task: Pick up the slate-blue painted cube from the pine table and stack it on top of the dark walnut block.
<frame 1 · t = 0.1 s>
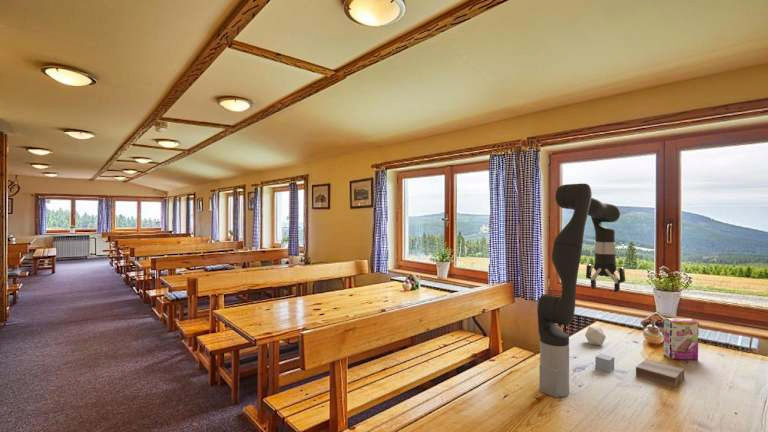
hand: (605, 290, 156), 29 cm above the table, tool pointing down, fingers open, 8 cm apart
walnut block: (659, 378, 138), on the table
die: (595, 344, 173), on the table
slate cube: (604, 369, 145), on the table
candy bar box: (680, 358, 156), on the table
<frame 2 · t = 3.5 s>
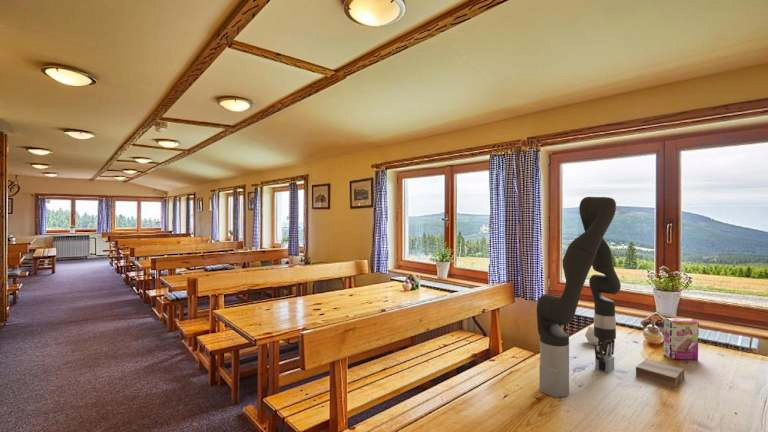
hand: (604, 367, 145), 0 cm above the table, tool pointing down, fingers closed on slate cube, 5 cm apart
slate cube: (604, 369, 145), on the table, touching gripper
everything else where it was.
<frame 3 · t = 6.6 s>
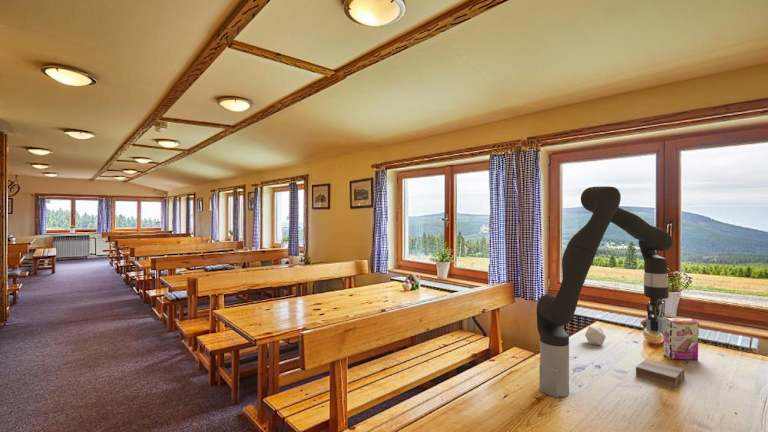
hand: (656, 329, 138), 18 cm above the table, tool pointing down, fingers closed on slate cube, 5 cm apart
slate cube: (656, 330, 138), point 17 cm above the table, touching gripper
everything else where it was.
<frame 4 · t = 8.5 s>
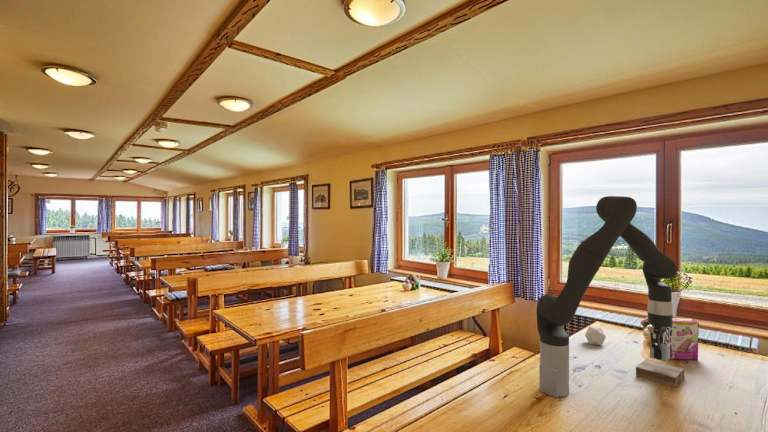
hand: (660, 356, 138), 8 cm above the table, tool pointing down, fingers closed on slate cube, 5 cm apart
slate cube: (660, 358, 138), point 7 cm above the table, touching gripper
everything else where it was.
when the fingers open (6 cm above the table, at t = 9.8 s): slate cube drops 2 cm, point 4 cm above the table.
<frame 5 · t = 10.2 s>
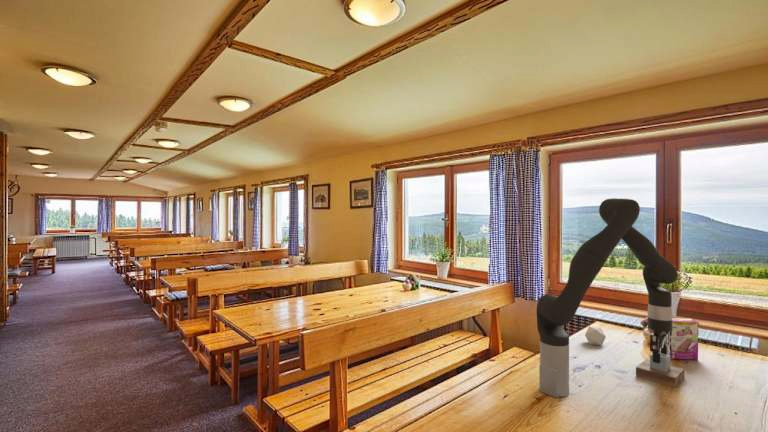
hand: (659, 359, 138), 7 cm above the table, tool pointing down, fingers open, 8 cm apart
slate cube: (660, 368, 138), point 4 cm above the table
everything else where it was.
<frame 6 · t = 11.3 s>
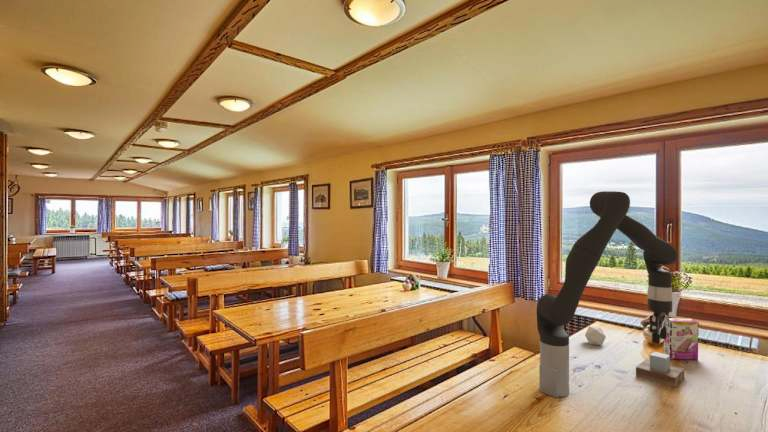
hand: (659, 340, 138), 14 cm above the table, tool pointing down, fingers open, 8 cm apart
walnut block: (659, 378, 138), on the table, touching slate cube
slate cube: (659, 368, 138), point 3 cm above the table, touching walnut block
everything else where it was.
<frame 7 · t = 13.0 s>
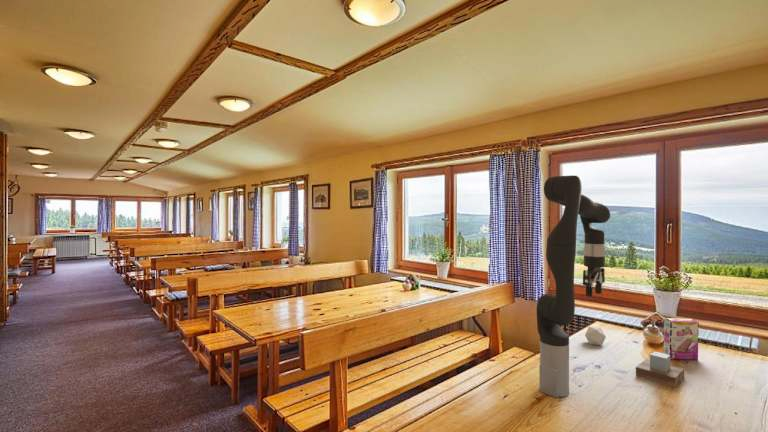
hand: (593, 294, 148), 29 cm above the table, tool pointing down, fingers open, 8 cm apart
nothing on the table moved.
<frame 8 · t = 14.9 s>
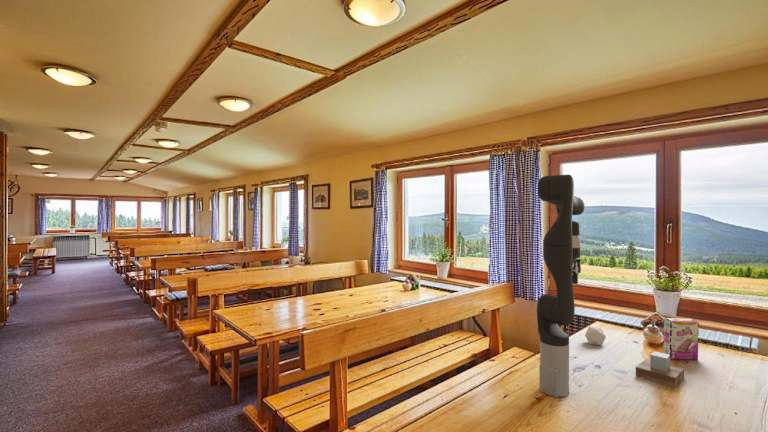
hand: (570, 284, 153), 32 cm above the table, tool pointing down, fingers open, 8 cm apart
nothing on the table moved.
at the end: slate cube 0.2 cm off-centre on the walnut block, point 4.0 cm above the walnut block's base; slate cube tilted 0°; the gripper is holding nothing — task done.
